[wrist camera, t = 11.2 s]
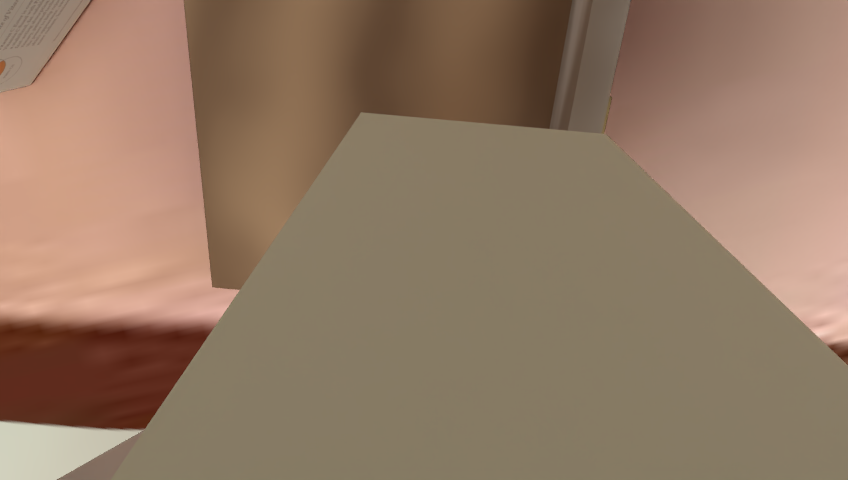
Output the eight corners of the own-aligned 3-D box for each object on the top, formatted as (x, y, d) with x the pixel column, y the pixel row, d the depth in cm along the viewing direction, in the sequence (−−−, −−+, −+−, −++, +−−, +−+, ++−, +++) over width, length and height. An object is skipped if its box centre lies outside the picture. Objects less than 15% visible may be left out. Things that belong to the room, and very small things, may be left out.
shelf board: (615, -83, 21) (663, -101, 16) (540, 296, 28) (558, 358, 24) (194, -120, 21) (122, -148, 16) (227, 267, 28) (183, 324, 24)
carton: (608, 134, 10) (1301, 787, 2) (542, 424, 13) (700, 1160, 5) (358, 111, 10) (-29, 661, 2) (350, 406, 13) (185, 1113, 5)
